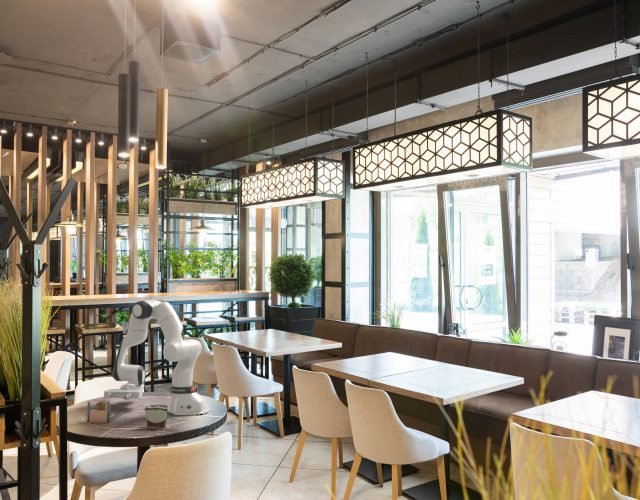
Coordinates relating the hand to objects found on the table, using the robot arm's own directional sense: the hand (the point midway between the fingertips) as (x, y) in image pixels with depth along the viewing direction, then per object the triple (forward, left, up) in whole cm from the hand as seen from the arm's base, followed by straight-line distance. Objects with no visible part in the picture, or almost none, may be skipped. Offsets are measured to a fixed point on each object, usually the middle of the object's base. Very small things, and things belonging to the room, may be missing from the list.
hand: (117, 396), depth 301 cm
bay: (+1, +11, -9) cm, 14 cm away
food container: (-31, +22, -9) cm, 39 cm away
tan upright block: (+1, +15, -9) cm, 17 cm away
